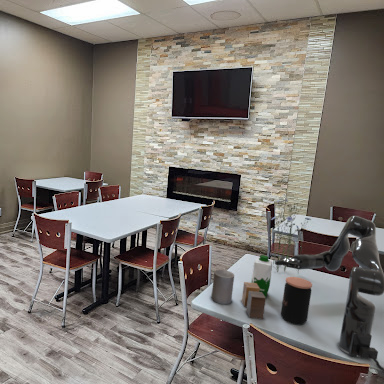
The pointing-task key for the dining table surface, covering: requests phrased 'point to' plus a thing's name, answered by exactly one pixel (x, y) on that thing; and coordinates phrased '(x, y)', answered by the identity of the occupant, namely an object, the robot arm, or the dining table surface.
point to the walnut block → (256, 304)
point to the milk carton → (262, 273)
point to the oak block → (246, 289)
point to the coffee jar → (296, 300)
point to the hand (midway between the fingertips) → (275, 262)
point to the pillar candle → (222, 286)
